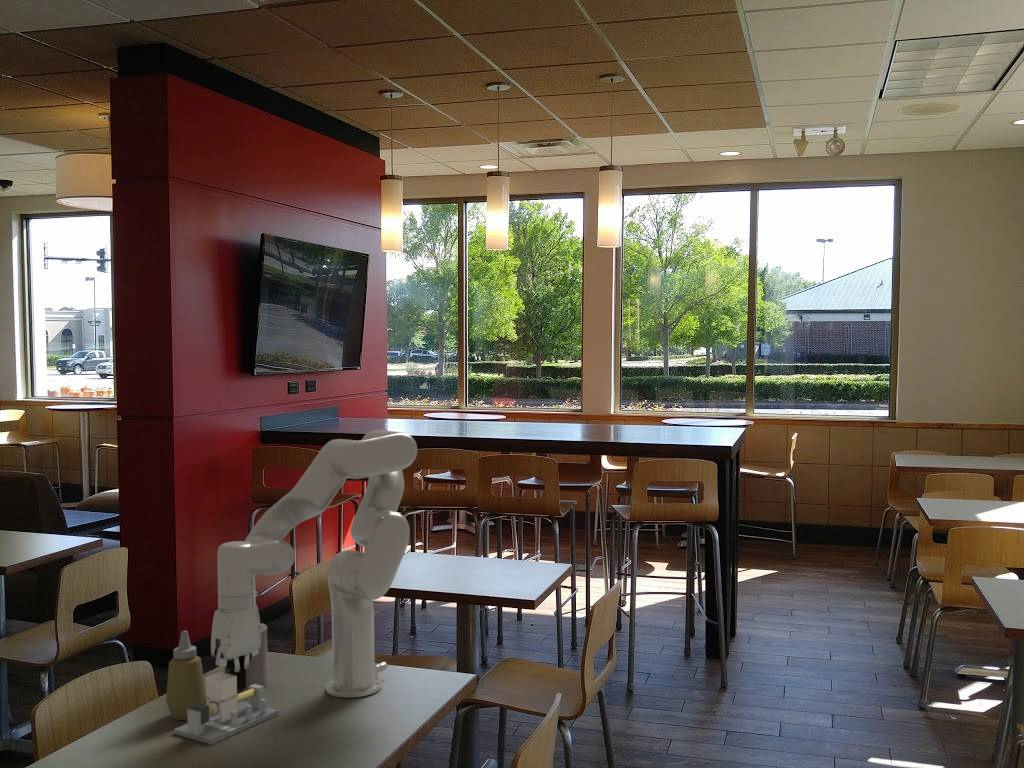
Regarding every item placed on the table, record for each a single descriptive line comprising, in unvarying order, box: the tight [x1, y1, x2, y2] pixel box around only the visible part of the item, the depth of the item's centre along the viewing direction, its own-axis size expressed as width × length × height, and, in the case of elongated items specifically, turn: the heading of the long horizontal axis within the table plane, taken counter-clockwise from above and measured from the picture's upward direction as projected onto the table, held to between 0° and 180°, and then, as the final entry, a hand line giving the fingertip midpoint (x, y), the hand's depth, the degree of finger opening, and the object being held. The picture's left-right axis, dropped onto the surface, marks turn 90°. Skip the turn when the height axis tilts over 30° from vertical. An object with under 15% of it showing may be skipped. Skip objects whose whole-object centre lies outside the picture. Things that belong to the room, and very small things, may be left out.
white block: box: [205, 671, 237, 722], centre depth 191 cm, size 4×5×8 cm
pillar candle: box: [224, 622, 269, 694], centre depth 215 cm, size 10×10×15 cm
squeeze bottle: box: [165, 630, 206, 721], centre depth 197 cm, size 8×8×18 cm
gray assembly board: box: [173, 684, 280, 746], centre depth 192 cm, size 18×11×6 cm, turn 148°
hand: (238, 688), depth 195 cm, fingers closed
